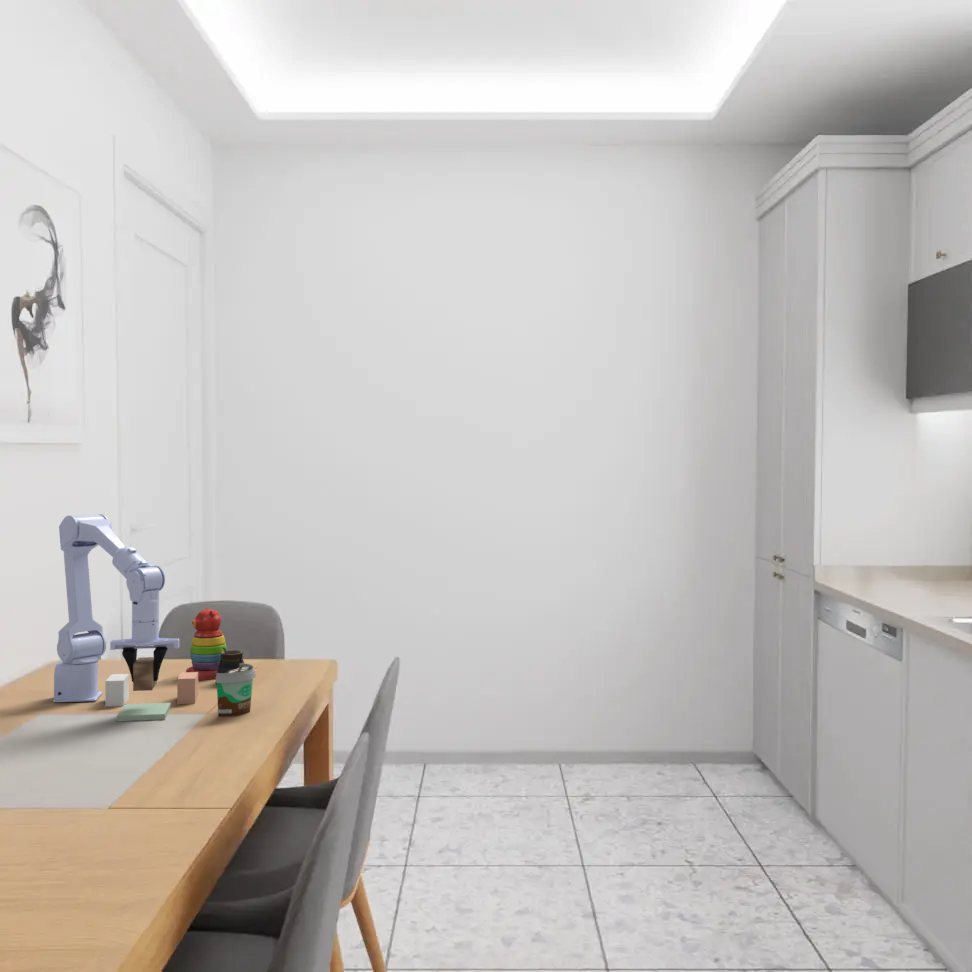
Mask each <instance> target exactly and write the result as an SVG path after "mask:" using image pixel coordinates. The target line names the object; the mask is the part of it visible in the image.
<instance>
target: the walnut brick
mask: <svg viewBox="0 0 972 972" xmlns="http://www.w3.org/2000/svg"><path fill="white" fill-rule="evenodd" d="M157 681H158V680H157ZM157 681H154V656H151V657H150V656H149V657H148V656H147V657H145V656H143V657H141V656H140V657H137V659H136V661H135V663H134V664H133V682H132V691H133V692H136V691H137V692H139V691H140V692H141V691H143V692H145V691H153V690H154V688H155V687H156V685H157V684H158V682H157Z"/></svg>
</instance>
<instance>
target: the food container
mask: <svg viewBox="0 0 972 972" xmlns="http://www.w3.org/2000/svg"><path fill="white" fill-rule="evenodd" d="M254 667H255V666H254V665H252V664H250V663H246V662H244V663H240V666H239V667H238V668H236V669H232V670H229V671H227V672H226V673H217V676H216V678H215V683H216V690H217V691H216V692H217V694H216V695H217V716H218V717H220V718H221V717H223V718H224V717H225V718H228V717H230V718H231V717H237V716H238V717H239V716H243V715H247V714H248V713H250V711H251V706H252V692H253V681H254V679H255V678H256V676H257V673H256V670H255V668H254Z"/></svg>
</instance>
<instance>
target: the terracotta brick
mask: <svg viewBox="0 0 972 972" xmlns="http://www.w3.org/2000/svg"><path fill="white" fill-rule="evenodd" d="M176 685H177V687H176V688H177V689H176V690H177V693H176V694H177V695H176V696H177V697H176V698H177V700H176V701H177V705H183V704H184V705H185V704H186V705H188V704H189V705H190V704H196V703H197V699H198V697H199V681H198V672H186V671H185V672H184V671H181V672H180V674H179V675H178V678H177V684H176Z"/></svg>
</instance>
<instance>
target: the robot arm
mask: <svg viewBox="0 0 972 972" xmlns="http://www.w3.org/2000/svg"><path fill="white" fill-rule="evenodd" d="M112 528H113V525H112V521H111V520H110V519H109V517H107V516H106V515H105V514H103V513H101V514H91V515H87V514H86V515H66V516H65V517H64V518H63V519H62V521H61V522H60V524H59V526H58V529H59V531H58V532H59V543H60V550H61V551H63V560H64V561H63V562H64V574H65V585H66V586H65V587H66V598H67V601H66V603H67V612H68V613H67V614H68V622H67V623H66V624H65V625H63V627H61V629H59V630H58V633H57V634H58V638H57V639H58V640H57V645H56V652H57V653H56V654H57V655H58V658H59V659H60V660H61V661H60V662H56V664H55V667H54V673H53V701H52V702H53V703H72V702H73V703H76V702H95V701H97V700H98V699H99V698H100V696H101V695H102V694H103V691H100V690H99V661H101V659H102V656H103V655H104V654H105V652H106V650H107V639H106V637H105V634H104V630H103V625H101V624H100V623H99V622H97V621H96V620H94V618H93V609H92V608H93V606H92V592H91V583H90V581H91V580H90V571H89V570H90V569H89V568H90V567H89V558H88V557H89V556H88V555H89V554H90V552H91V551H92V550H93V549H95V548H96V547H98V546H100V547H101V548H102V550H104V551H105V552H106V553H107V554H108V555H110V556H111V557H112V561H111V562H112V565H113V566H114V567H115V568H116V569H117V571H118V572H119V573H120V574H121V575H122V576H123V577H124V578H125V583H126V588H127V590H128V593H129V600H130V601H131V638H122V639H121V638H120V639H111V640H110V642H109V645H110V649H109V650H110V651H115V650H122V652H121V654H122V658H123V659H124V660H125V663H126V664H127V667H128V670H129V675H130V678H131V682H132V683H133V664H134V663H135V661H136V660H137V659H138V657H137V656H138V654H137V653H138V649H154V650H153V657H154V681H158V680H159V676H160V675H159V674H160V670H161V666H162V663H163V661H164V658H165V656H166V654H167V652H168V650H169V649H172V648H173V649H179V648H180V638H178V637H177V638H176V637H175V638H169V637H160V634H159V633H160V621H159V620H160V591H162V590H163V588H164V587H165V585H166V584H165V582H166V576H165V573H164V570H163V569H162V568H161V566H159V565H153V564H149V563H148V562H147V561H146V559H144V558H143V556H141V555H140V553H138V551H137V549H136V547H130V546H125V544H124V543H123V542H122V541H121V540H120V538H119V537H118V536H117V535H116V533H115V532H114V531H113V529H112ZM83 632H84V633H83Z"/></svg>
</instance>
